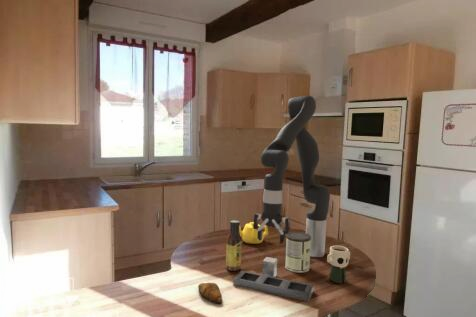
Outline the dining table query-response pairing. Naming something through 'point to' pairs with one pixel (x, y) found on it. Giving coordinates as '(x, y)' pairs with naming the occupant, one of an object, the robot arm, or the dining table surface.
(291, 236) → the coffee can
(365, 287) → the dining table surface
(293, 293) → the tray
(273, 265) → the white rectangular block
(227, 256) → the sauce bottle
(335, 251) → the character mug
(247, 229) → the teapot
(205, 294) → the croissant
